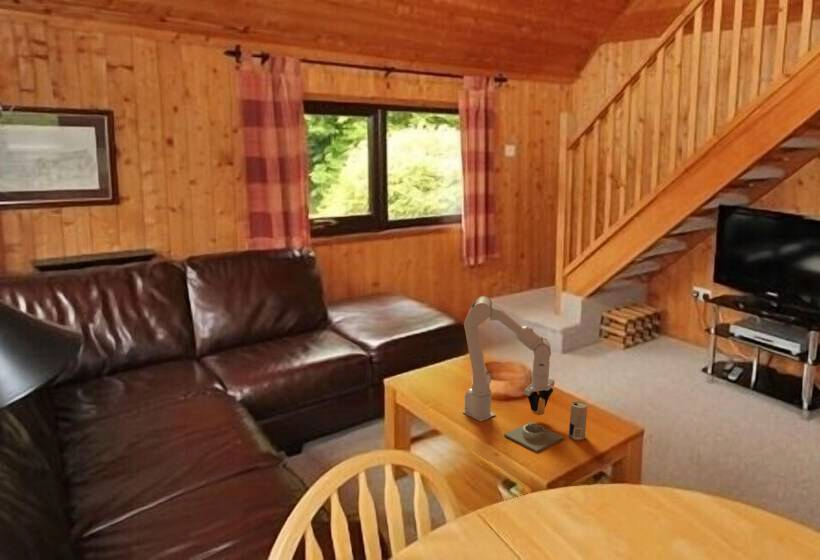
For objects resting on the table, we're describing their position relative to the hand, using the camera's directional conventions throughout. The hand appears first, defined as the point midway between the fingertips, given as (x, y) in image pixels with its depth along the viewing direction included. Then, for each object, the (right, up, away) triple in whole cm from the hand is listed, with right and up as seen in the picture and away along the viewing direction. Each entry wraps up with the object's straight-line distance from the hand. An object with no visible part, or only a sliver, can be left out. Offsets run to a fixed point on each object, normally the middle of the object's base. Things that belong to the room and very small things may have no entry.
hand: (538, 408), depth 213 cm
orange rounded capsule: (0, -1, 0) cm, 2 cm away
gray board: (-4, -8, -11) cm, 14 cm away
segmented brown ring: (-4, -8, -11) cm, 14 cm away
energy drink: (+11, -8, -10) cm, 17 cm away
